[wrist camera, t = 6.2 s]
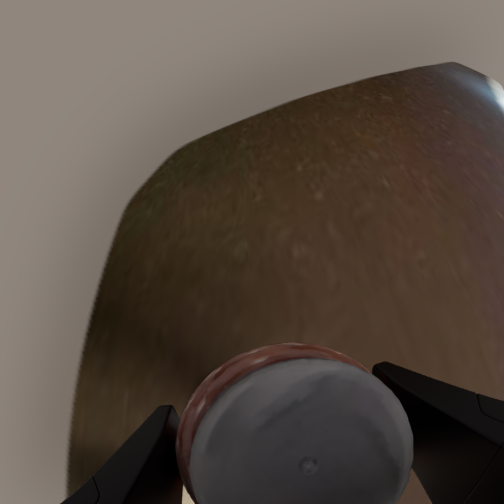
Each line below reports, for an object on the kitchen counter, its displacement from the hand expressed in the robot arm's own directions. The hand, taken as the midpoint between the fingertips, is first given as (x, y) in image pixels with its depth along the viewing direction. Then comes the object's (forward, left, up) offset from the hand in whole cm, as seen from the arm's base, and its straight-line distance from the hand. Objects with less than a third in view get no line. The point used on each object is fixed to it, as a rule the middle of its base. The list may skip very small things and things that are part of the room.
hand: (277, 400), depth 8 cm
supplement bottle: (-1, +1, -8) cm, 8 cm away
